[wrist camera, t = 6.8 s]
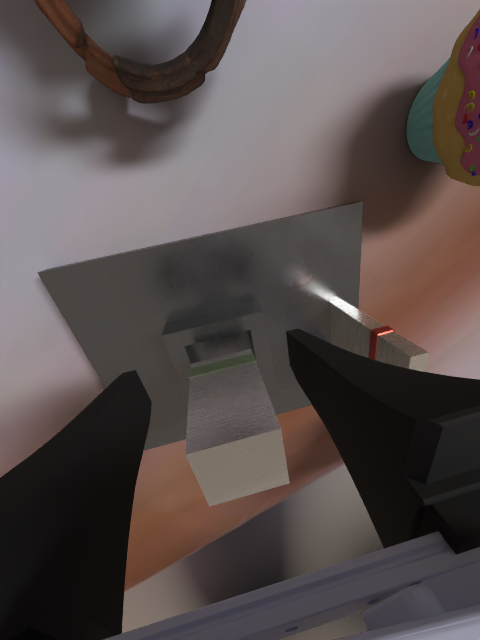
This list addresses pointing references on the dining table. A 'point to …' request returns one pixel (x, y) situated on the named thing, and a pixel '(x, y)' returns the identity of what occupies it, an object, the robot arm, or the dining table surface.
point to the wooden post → (233, 429)
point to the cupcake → (451, 111)
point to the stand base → (225, 308)
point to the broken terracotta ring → (146, 78)
